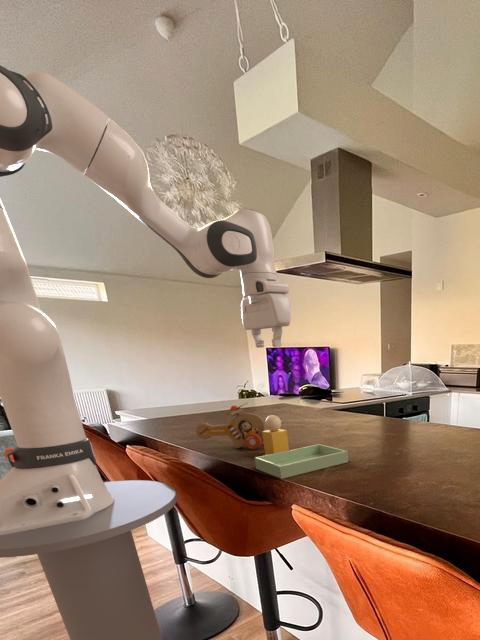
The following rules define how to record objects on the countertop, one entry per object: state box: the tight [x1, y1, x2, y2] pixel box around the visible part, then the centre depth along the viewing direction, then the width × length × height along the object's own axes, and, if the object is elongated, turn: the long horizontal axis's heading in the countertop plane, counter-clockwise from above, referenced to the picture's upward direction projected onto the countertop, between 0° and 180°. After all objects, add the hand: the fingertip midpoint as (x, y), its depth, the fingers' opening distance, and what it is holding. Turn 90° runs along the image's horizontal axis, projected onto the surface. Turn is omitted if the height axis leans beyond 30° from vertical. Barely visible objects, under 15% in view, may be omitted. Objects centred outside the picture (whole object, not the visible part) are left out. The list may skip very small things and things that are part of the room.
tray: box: [254, 443, 349, 480], centre depth 109 cm, size 20×13×3 cm
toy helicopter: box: [195, 402, 266, 450], centre depth 130 cm, size 8×21×14 cm, turn 94°
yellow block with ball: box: [262, 414, 290, 455], centre depth 119 cm, size 5×5×11 cm
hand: (268, 347), depth 111 cm, fingers open, 8 cm apart
